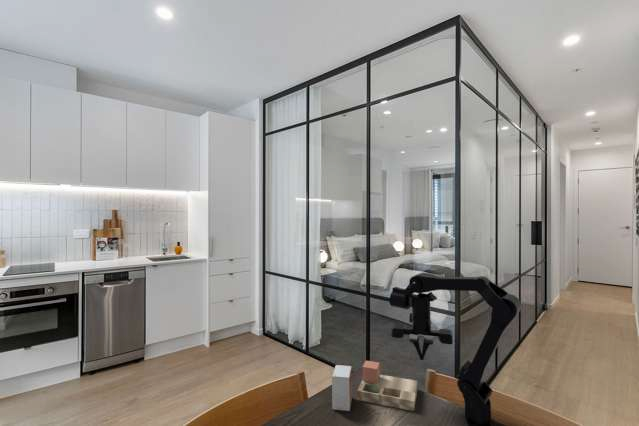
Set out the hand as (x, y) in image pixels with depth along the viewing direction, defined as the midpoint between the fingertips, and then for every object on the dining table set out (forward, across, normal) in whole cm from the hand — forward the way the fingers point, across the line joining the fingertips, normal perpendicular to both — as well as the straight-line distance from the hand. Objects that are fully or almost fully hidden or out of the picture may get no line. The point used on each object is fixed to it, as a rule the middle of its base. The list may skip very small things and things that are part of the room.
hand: (421, 359), depth 106 cm
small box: (+13, +24, +11) cm, 30 cm away
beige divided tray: (+13, +11, +1) cm, 17 cm away
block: (+10, +17, -1) cm, 20 cm away
